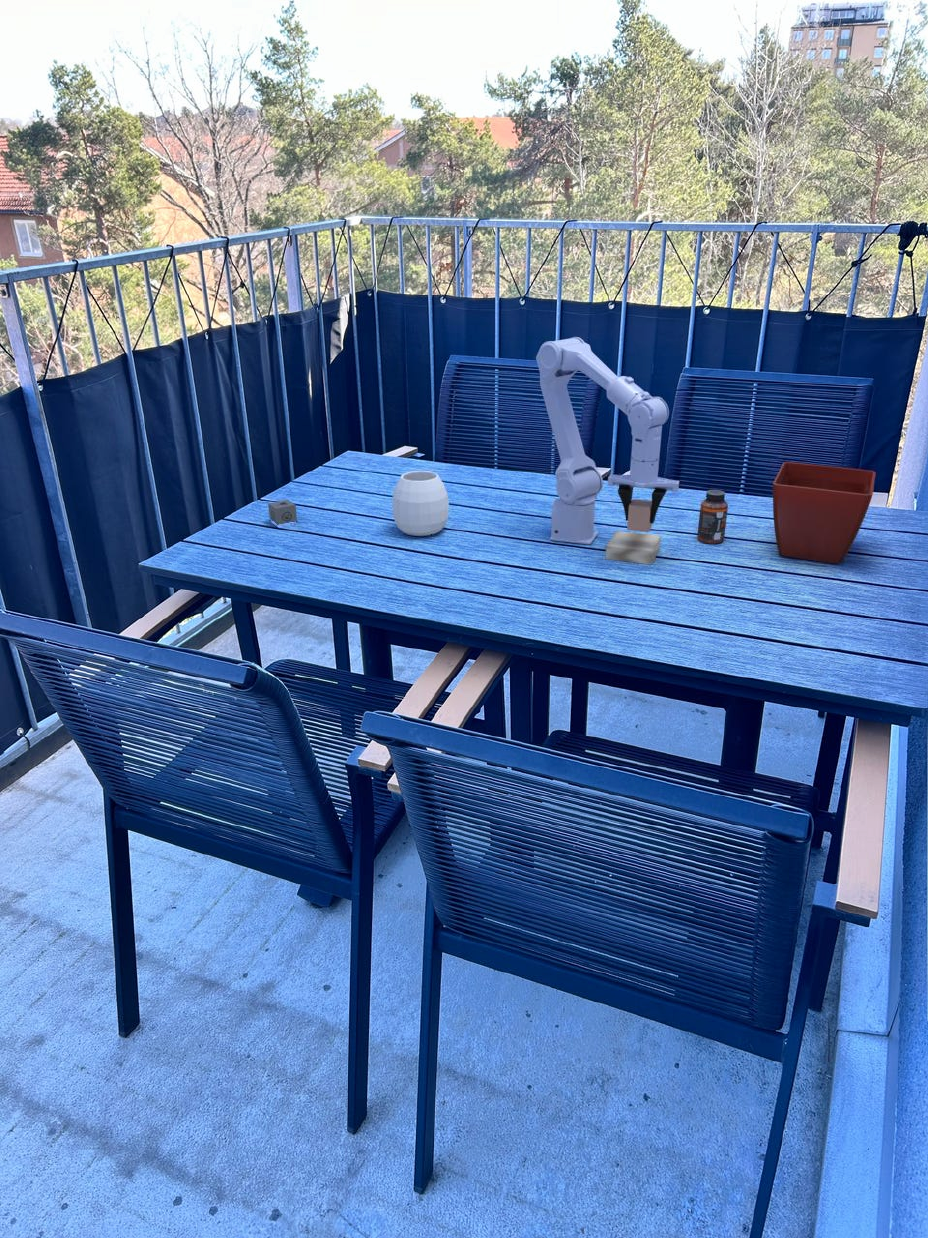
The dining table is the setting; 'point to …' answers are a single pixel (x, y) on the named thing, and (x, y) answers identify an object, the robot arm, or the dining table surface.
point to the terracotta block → (639, 515)
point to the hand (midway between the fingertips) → (640, 520)
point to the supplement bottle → (713, 517)
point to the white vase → (420, 503)
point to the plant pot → (819, 510)
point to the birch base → (633, 547)
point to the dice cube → (282, 512)
